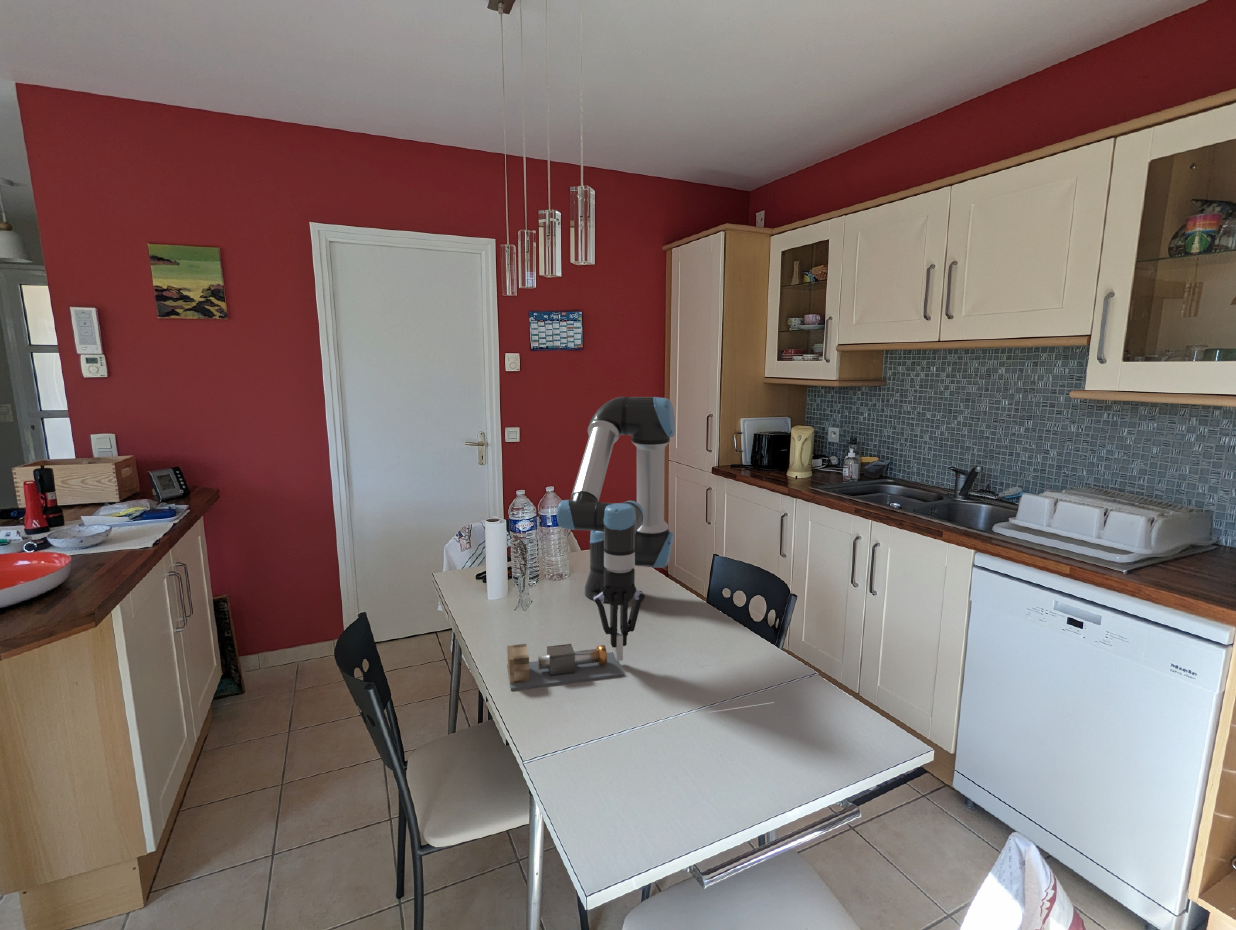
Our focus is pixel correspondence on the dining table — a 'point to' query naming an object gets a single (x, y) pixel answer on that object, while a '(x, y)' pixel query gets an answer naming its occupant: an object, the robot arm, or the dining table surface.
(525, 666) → the socket block
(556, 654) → the sleeve
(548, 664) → the sliding bolt
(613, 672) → the base mat
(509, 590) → the dining table surface
